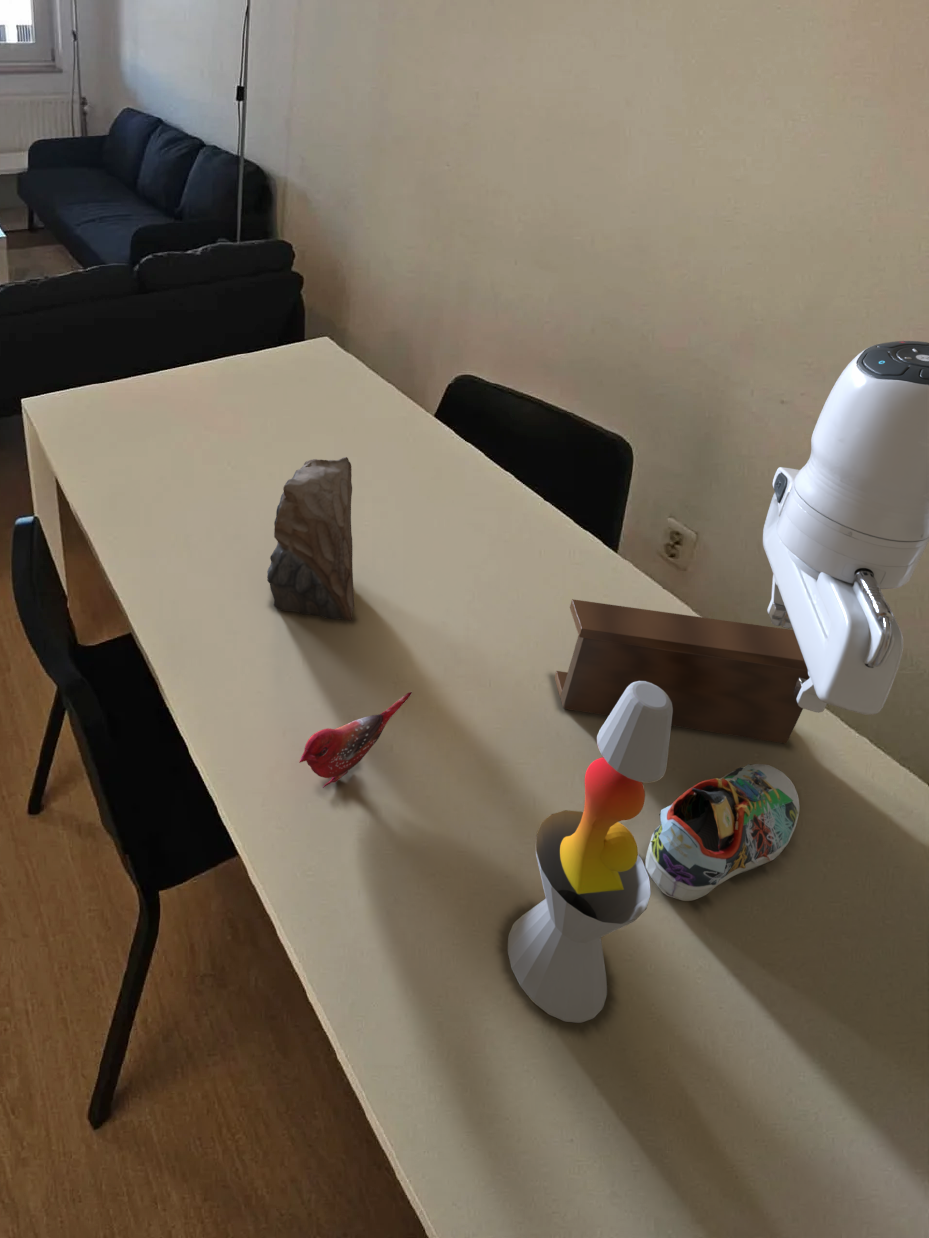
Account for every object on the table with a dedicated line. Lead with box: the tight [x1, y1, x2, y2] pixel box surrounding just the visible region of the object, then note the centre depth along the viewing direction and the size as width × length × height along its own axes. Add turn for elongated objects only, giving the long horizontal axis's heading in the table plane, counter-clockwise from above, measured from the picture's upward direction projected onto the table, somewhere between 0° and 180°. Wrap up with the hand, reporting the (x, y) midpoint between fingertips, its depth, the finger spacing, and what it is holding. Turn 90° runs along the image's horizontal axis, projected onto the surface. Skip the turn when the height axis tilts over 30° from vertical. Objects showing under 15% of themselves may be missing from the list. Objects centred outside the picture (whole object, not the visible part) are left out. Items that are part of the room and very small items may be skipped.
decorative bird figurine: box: [299, 691, 413, 789], centre depth 86 cm, size 3×18×10 cm, turn 126°
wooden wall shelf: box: [554, 598, 810, 745], centre depth 93 cm, size 27×5×13 cm, turn 81°
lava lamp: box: [507, 681, 673, 1024], centre depth 63 cm, size 9×9×35 cm
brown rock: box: [266, 456, 355, 621], centre depth 110 cm, size 13×13×20 cm
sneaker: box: [645, 763, 801, 902], centre depth 79 cm, size 8×22×10 cm, turn 118°
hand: (791, 659), depth 66 cm, fingers open, 8 cm apart
